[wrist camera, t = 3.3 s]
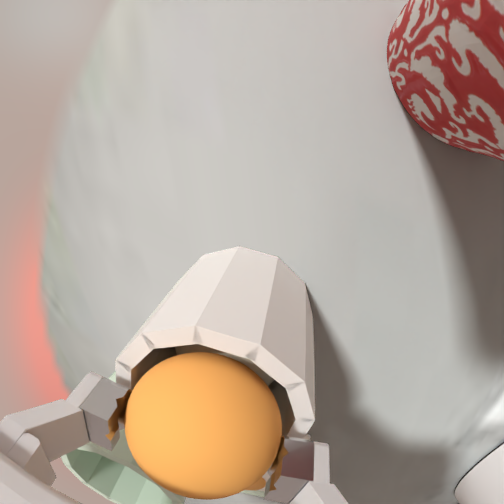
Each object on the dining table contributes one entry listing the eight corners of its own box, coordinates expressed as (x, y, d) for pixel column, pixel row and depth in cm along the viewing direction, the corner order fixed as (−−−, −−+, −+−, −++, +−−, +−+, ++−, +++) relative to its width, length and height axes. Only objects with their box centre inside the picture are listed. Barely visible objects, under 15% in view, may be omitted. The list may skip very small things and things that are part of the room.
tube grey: (329, 271, 15) (346, 365, 8) (287, 378, 17) (276, 479, 11) (188, 231, 15) (115, 297, 9) (170, 344, 18) (119, 430, 11)
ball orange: (305, 345, 10) (301, 472, 6) (266, 432, 12) (248, 533, 8) (163, 304, 11) (87, 404, 6) (154, 398, 13) (106, 488, 8)
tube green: (218, 393, 18) (187, 484, 12) (201, 455, 21) (177, 526, 15) (103, 351, 19) (47, 421, 12) (109, 420, 22) (71, 481, 15)
